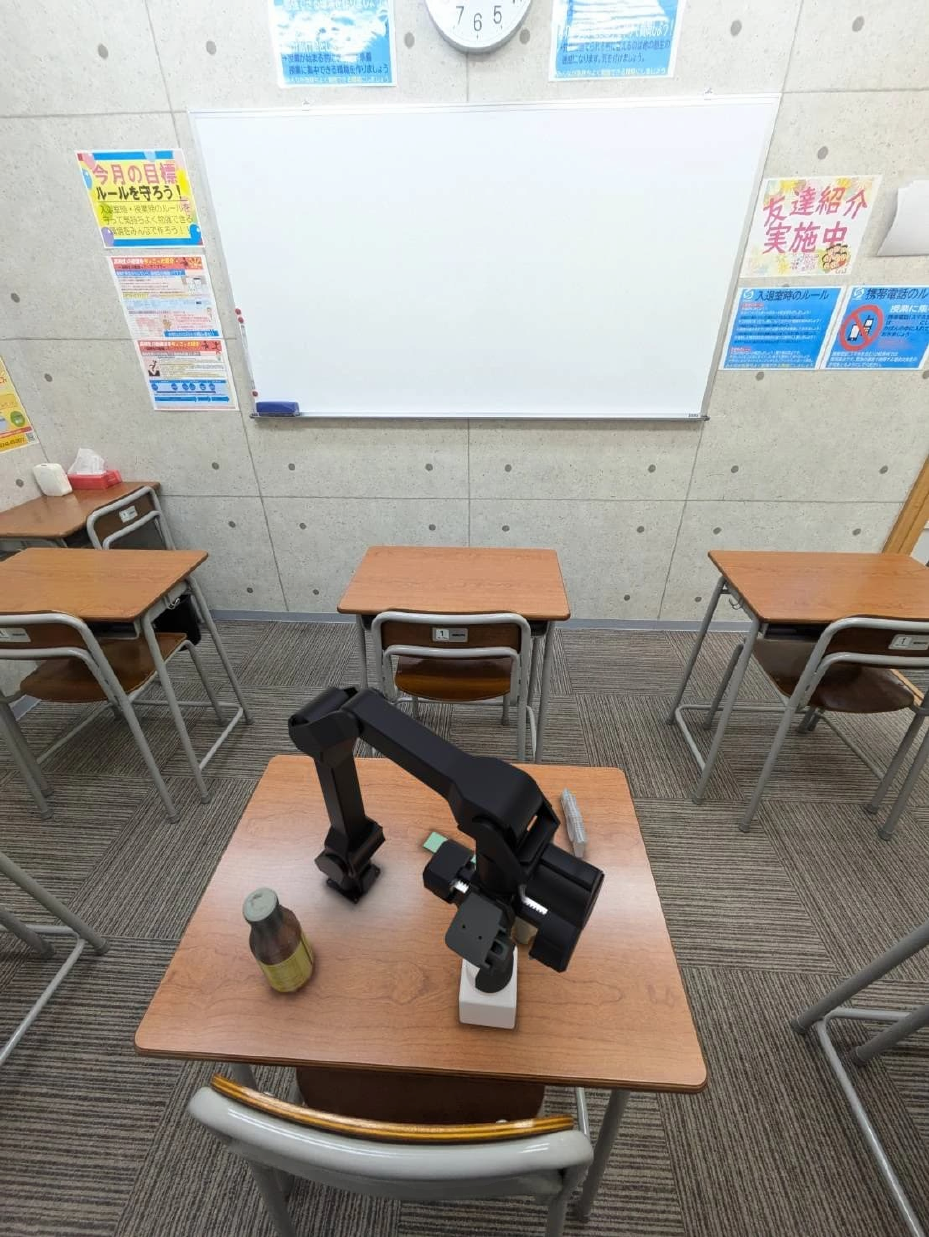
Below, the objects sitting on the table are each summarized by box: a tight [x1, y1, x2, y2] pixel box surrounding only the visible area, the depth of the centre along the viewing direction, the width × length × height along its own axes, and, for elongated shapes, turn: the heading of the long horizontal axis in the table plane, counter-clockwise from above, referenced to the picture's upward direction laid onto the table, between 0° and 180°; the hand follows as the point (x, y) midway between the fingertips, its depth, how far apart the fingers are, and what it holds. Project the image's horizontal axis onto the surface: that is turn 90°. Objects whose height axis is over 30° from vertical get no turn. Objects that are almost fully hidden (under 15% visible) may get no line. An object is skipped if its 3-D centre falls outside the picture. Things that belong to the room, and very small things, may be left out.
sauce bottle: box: [241, 886, 315, 995], centre depth 68 cm, size 6×6×20 cm
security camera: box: [458, 946, 518, 1030], centre depth 67 cm, size 7×7×12 cm
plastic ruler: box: [423, 831, 476, 870], centre depth 87 cm, size 15×3×1 cm, turn 58°
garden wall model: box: [560, 788, 589, 859], centre depth 90 cm, size 12×2×6 cm, turn 3°
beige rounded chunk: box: [513, 909, 539, 945], centre depth 76 cm, size 6×5×8 cm
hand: (498, 934), depth 65 cm, fingers open, 9 cm apart
